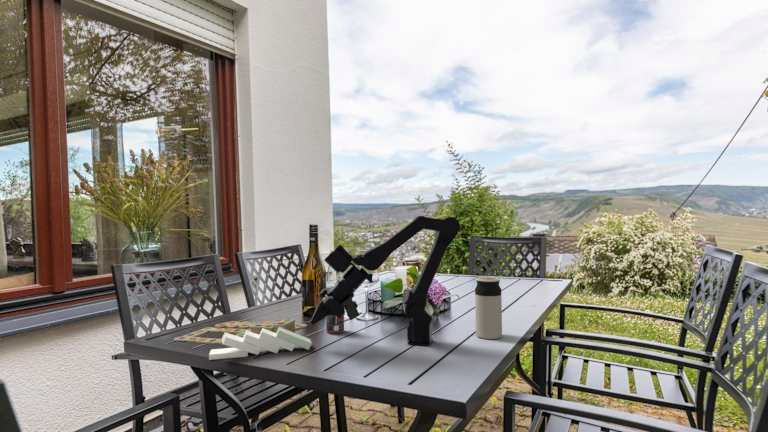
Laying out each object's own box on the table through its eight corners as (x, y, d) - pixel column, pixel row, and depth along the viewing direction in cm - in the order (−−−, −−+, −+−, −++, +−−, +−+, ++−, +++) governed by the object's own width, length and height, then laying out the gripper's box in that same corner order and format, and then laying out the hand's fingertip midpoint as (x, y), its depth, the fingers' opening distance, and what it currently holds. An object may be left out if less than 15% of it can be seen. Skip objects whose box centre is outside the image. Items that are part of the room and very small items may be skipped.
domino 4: (294, 340, 131) (262, 327, 129) (295, 344, 126) (262, 331, 124) (291, 346, 131) (259, 334, 129) (292, 351, 126) (258, 338, 124)
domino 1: (248, 346, 128) (211, 349, 125) (247, 351, 123) (208, 354, 120) (248, 353, 128) (211, 356, 125) (247, 358, 123) (209, 362, 120)
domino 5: (310, 339, 132) (279, 326, 130) (311, 343, 127) (279, 330, 125) (307, 345, 132) (276, 333, 130) (308, 350, 127) (275, 337, 125)
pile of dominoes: (310, 327, 156) (310, 311, 156) (270, 350, 130) (270, 331, 130) (224, 322, 165) (224, 307, 165) (171, 343, 139) (171, 325, 139)
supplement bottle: (341, 334, 144) (340, 299, 144) (323, 333, 145) (323, 299, 145) (346, 329, 150) (346, 296, 150) (329, 329, 151) (329, 295, 151)
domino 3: (278, 342, 130) (246, 330, 127) (280, 346, 125) (246, 334, 122) (275, 348, 130) (243, 336, 127) (277, 353, 125) (243, 341, 122)
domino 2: (258, 342, 128) (224, 332, 124) (261, 347, 123) (225, 337, 120) (255, 349, 128) (221, 339, 124) (258, 354, 123) (222, 344, 119)
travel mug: (497, 341, 133) (496, 281, 133) (471, 337, 138) (471, 279, 138) (505, 335, 140) (504, 277, 140) (481, 331, 144) (480, 276, 144)
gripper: (373, 308, 124) (334, 351, 121) (362, 296, 142) (328, 333, 140) (345, 281, 122) (305, 324, 120) (337, 273, 140) (302, 310, 138)
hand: (311, 323), depth 129 cm, fingers closed
